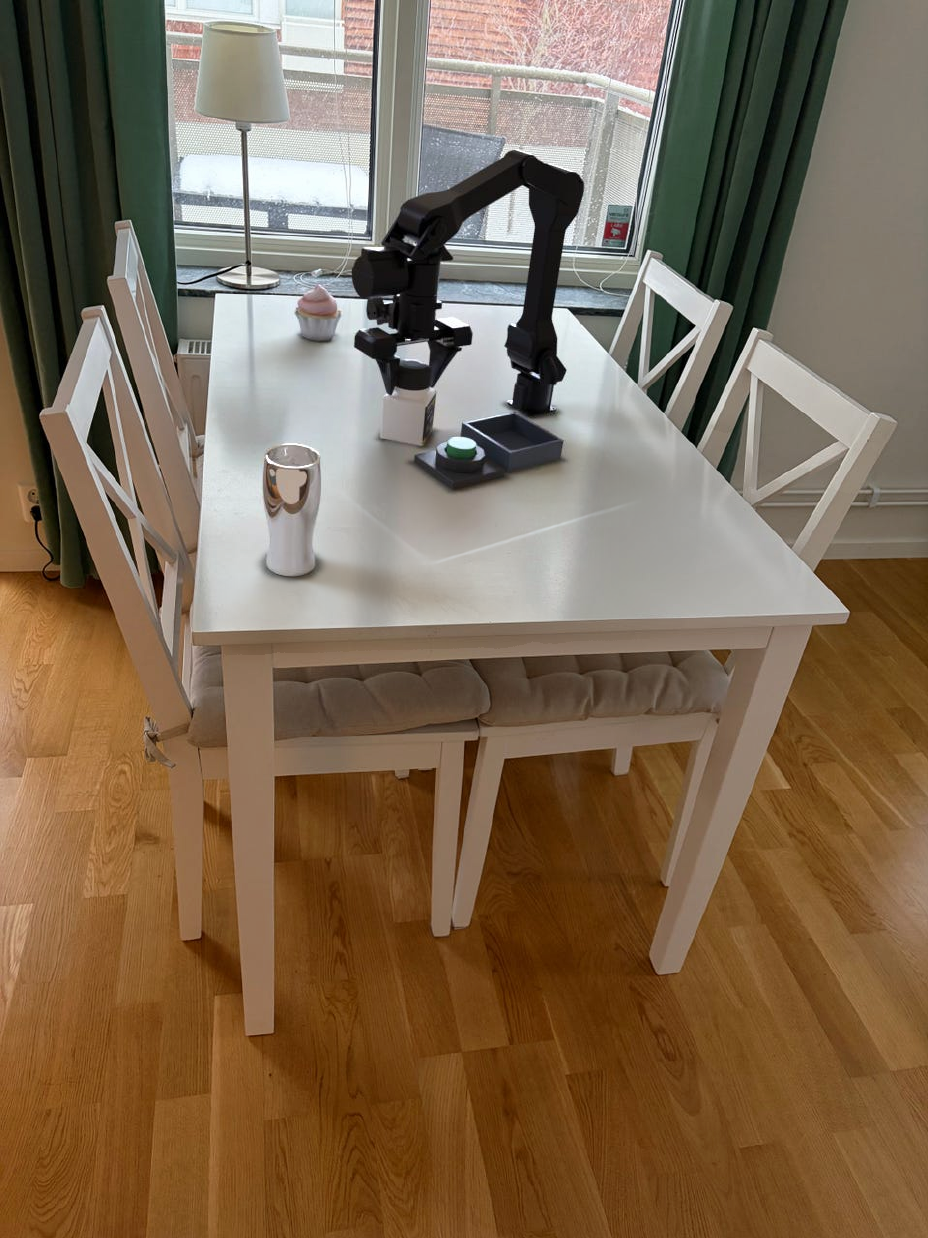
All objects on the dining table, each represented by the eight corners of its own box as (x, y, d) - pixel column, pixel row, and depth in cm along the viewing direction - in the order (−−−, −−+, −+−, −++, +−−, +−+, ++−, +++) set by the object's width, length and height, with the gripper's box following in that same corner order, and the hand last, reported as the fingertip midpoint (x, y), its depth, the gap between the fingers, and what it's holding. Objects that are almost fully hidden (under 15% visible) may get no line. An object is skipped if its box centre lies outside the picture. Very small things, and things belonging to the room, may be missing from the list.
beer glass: (265, 548, 128) (264, 440, 119) (319, 551, 129) (323, 444, 120) (260, 577, 122) (259, 466, 114) (317, 580, 123) (321, 470, 115)
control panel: (464, 451, 159) (466, 432, 157) (504, 477, 152) (506, 458, 151) (413, 462, 153) (415, 443, 151) (452, 490, 147) (454, 470, 145)
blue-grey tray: (512, 430, 167) (515, 411, 166) (560, 459, 160) (563, 440, 158) (459, 441, 161) (462, 422, 159) (507, 473, 154) (510, 452, 152)
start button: (463, 445, 154) (464, 434, 153) (480, 456, 151) (482, 445, 150) (440, 450, 151) (441, 439, 150) (457, 461, 149) (459, 451, 148)
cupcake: (300, 324, 199) (301, 274, 193) (346, 332, 198) (348, 281, 193) (287, 339, 191) (287, 287, 185) (334, 347, 190) (336, 294, 185)
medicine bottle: (422, 447, 158) (429, 374, 151) (379, 438, 159) (384, 366, 152) (432, 430, 164) (439, 359, 157) (391, 422, 165) (396, 351, 158)
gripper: (436, 270, 158) (428, 364, 167) (336, 280, 148) (332, 380, 157) (480, 291, 152) (468, 388, 160) (378, 303, 141) (371, 407, 150)
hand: (410, 390), depth 157 cm, fingers closed on medicine bottle, 8 cm apart
